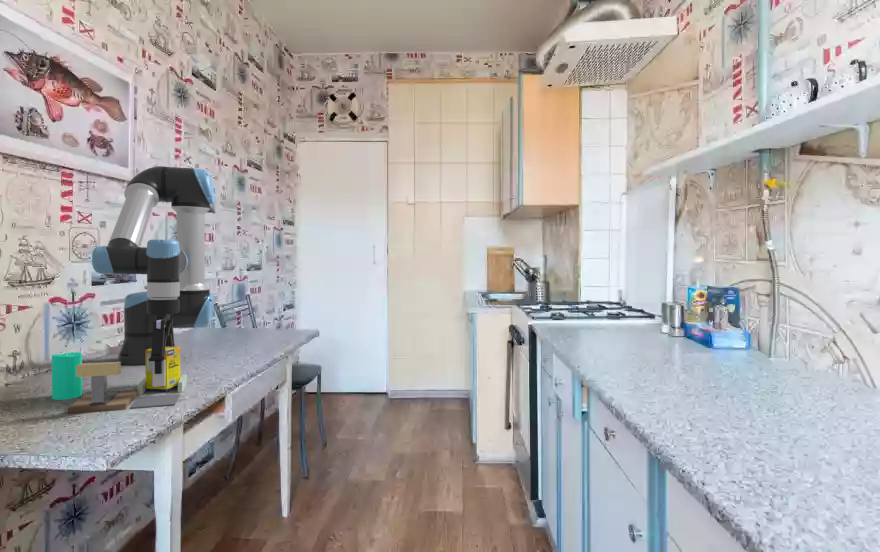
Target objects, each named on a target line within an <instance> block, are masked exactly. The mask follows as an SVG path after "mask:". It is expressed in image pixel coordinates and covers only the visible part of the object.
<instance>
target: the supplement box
mask: <svg viewBox="0 0 880 552" xmlns="http://www.w3.org/2000/svg"><path fill="white" fill-rule="evenodd" d="M151 349H152V348H151ZM151 349H147V350H146V351H145V361H146V364H145V377H146V391H145V392H159V393H168V392H170V391H173V390H175V389H178V382H179V380H180V379H181V377H182V375H181V373H182V372H181V366H182V365H181V347H180V346H174V347H165V355H164V357H165V359H164V360H165V386H157V387H153V361H149V358H150V357H151Z"/></svg>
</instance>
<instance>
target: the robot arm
mask: <svg viewBox="0 0 880 552" xmlns="http://www.w3.org/2000/svg"><path fill="white" fill-rule="evenodd" d="M124 189H125V190H124V191H123V193H124V198H125V200H124V202H123V205H122V207H121V210H120V212H119V215H118V217H117V220H116V223H115V225H114V228H113V231H112V233H111V235H110V238H109V240H108V243H107V245H101V246H100V245H99V246H96V247H94V248H93V250H92V253H91V265H92V268H93V270H94V271H95V272H96V273H97V274H104V275H146V285H144V290H145V291H139V292H134V293H130V294H127V295H126V296H125V298H124V305H123V306H124V307H123V312H124V315H123V317H124V320H123V322H124V323H123V326H124V327H123V330H124V331H123V332H124V336H123V337H124V339H123V341H122V344H121V347H120V350H119V352H118V356H117V362H121V365H127V366H128V365H129V366H130V365H131V366H133V365H134V366H135V365H137V366H138V365H146V361H145V351H146V350H147V349H151V348H152V349H151V357H150V358H149V361H153V387H157V386H165V360H164V359H165V357H164V355H165V347H176V346H175V337H174V336H175V334H174V329H196V328H197V329H199V328H206V327H208V326H209V325H211V324H210V323H211V322H212V317H213V313H214V307H215V294H214V293H212V292H211V291H210V289H211V288H210V287H209V286H208V285H206V278H205V277H206V274H205V273H206V272H205V271H206V265H205V264H206V263H205V260H206V257H205V256H206V255H205V254H206V246H205V245H206V243H205V242H206V237H205V234H206V232H205V231H206V230H205V229H206V228H205V227H206V223H205V222H206V221H205V219H206V218H205V217H206V216H205V215H206V214H207V212H209V211H210V209H211V207H210V205H211V206H212V205H214V204H215V202H216V200H215V191H214V190H215V189H214V184H213V179H212V175H211V174H210V172H209V171H208V170H207V169H201V168H195V167H193V168H191V167H176V166H175V167H174V166H172V167H171V166H161V165H160V166H153V167H150V168H149V167H148V168H147V169H144V170H142V171H141V172H139V173H137V174H136V175H135V176H134V177H133V178H131V179H130V180H129V182H128V183H127V185H126V187H125V188H124ZM159 202H160V203H161V202H165V203H170V204H171V205H170V206H171V207H170V208H171V209H172V210H173V211H174V212H175V213H176V240H175V239H159V238H158V239H155V238H154V239H149V240H148V241H147V242H146V246H145V247H144V246H143V247H142V246H141V245H142V241H143V238H144V235H145V232H146V230H147V226H148V223H149V221H150V218H151V214H152V211H153V208H154V207H156V206H157V205H158V203H159Z"/></svg>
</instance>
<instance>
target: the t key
mask: <svg viewBox="0 0 880 552" xmlns="http://www.w3.org/2000/svg"><path fill="white" fill-rule="evenodd" d="M121 373H122V364H121V362H118V361H112V362H111V361H106V362H87V363H86V362H85V363H83V362H82V364H78V365H77V366H76V377H82V378H83V377H84V378H86V377H87V378H88V377H89V378H90V383H91V384H90V389H91V391H90V392H91V403H98V402H105V401H106V400H107V391H108V376H119V375H120V374H121Z"/></svg>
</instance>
